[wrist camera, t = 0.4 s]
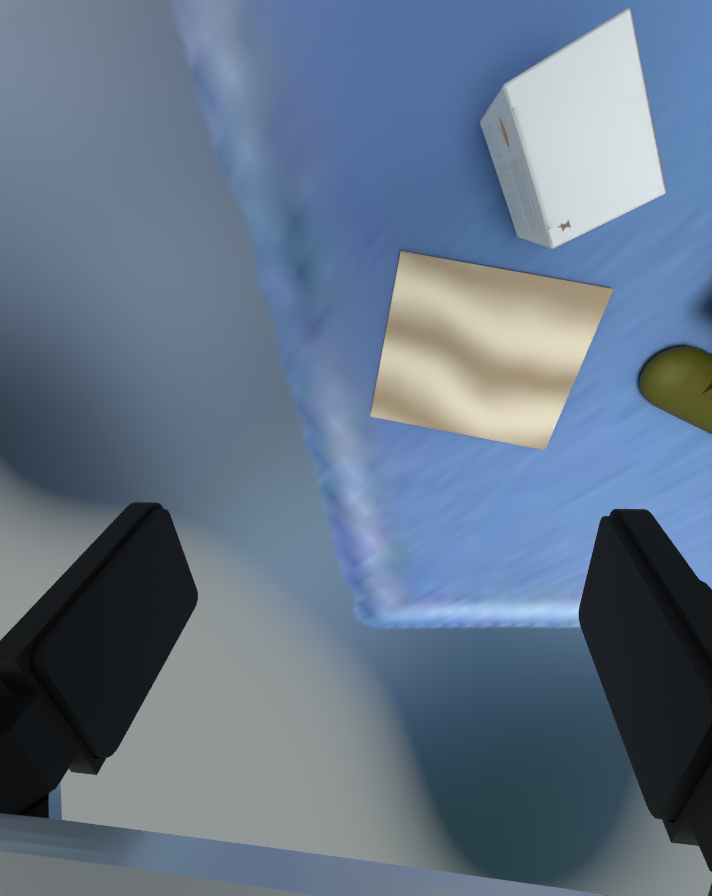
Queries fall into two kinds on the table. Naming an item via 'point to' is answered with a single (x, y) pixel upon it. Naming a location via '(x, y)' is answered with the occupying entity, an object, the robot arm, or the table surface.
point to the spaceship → (681, 384)
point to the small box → (576, 137)
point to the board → (483, 348)
